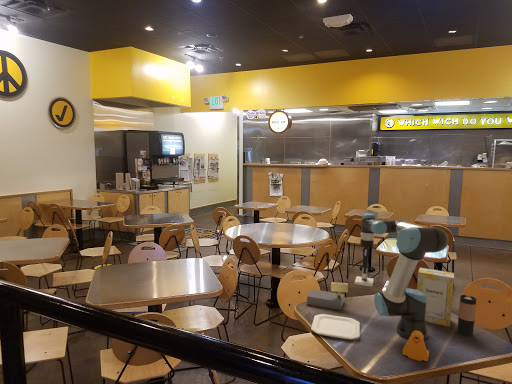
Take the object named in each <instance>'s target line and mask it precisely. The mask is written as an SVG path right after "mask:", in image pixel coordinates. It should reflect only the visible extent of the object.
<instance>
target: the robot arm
mask: <svg viewBox="0 0 512 384" xmlns="http://www.w3.org/2000/svg"><path fill="white" fill-rule="evenodd" d="M359 234H360V241H359V242H360V246H362V266H360V267H361V277H362V278H363V279H367V278H368V274H367V264H368V267H369V266H370V264H369V257H370V252H371V249H370V248H372V247H374V241H375V240H374V239H375V235H379V236H380V235H384V234H397V235H396V242H395V243H396V244H395V245H396V247H397V249H398V252H399V255H398V258H397V260H396V262H395V265H394V268H393V270H392V272H391V275H390V277H389V281H388V283H387V285H385V286H384V287H382V290H381V292H376V293H375V294H374V297H373V298H374V307H375V310H376V311H377V314H378V315H380V316H383V317H398V316H399V317H400V318H399V321H398V322H397V325H396V333H397V334H398V335H400V336H401V337H403V338H406V339H408V340H409V338H410V336H411V334H412V332H413V331H420V332H421V333H422V334H423V336H424V339H423V340H424V341H425V340H427V338H428V330H427V326H426V321H425V312H426V304H427V300H426V295H425V294H424V293H422V292H420V291H418V290H417V289H414V288H408V285H409V283H410V281H411V278H413V277H412V276H413V274H414V272H415V269H416V267H417V264H418V262H420V261H422V260H423V259H424V258H425V255H426V253H428V254H429V253H440V252H442V251H444V250H445V249H446V248H447V246H448V244H449V236H448V233H446V231H444V229H442V228H439V227H434V226H429V227H425V226H422V225H417V224H415V223H414V224H412V223H410V222H408V221H407V220H403V219H397V220H395V219H394V220H391V219H376V214H375V213H369V212H366V213H363V214H362V215H361V230H360V233H359ZM415 338H416V339H418V340H419V338H418V337H415Z"/></svg>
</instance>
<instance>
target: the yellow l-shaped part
mask: <svg viewBox="0 0 512 384" xmlns="http://www.w3.org/2000/svg"><path fill="white" fill-rule="evenodd" d="M330 292H333V293H337V298H341V294H342V293H349V283H348V282H347V283H346V282H336V281H335V282H332V281H331V284H330Z"/></svg>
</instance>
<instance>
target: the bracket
mask: <svg viewBox="0 0 512 384" xmlns="http://www.w3.org/2000/svg"><path fill="white" fill-rule="evenodd" d="M415 337H418V338H419V340H418V339H416V338H415ZM423 339H424V336H423V334H422V333H421V332H420V331H413V332H412V334H411V336H410V338H409V339H408V340H407V342H405V344H404V346H403V348H402V355H403V356H407V357H408V359H411V360H416V361H418V362H422V361H424V362H429V357H430V350H427V346H426V344H425V339H424V340H423Z"/></svg>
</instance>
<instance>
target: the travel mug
mask: <svg viewBox="0 0 512 384" xmlns="http://www.w3.org/2000/svg"><path fill="white" fill-rule="evenodd" d="M459 298H460V299H459V305H458V316H457V333H458V334H459V335H461V336H464V337H473V335H474V334H473V333H474V327H475V326H474V325H475V320H476V318H475V317H476V308H477V298H476V297H474V296H471V295H470V296H467V295H466V294H461V295H460V297H459Z"/></svg>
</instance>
